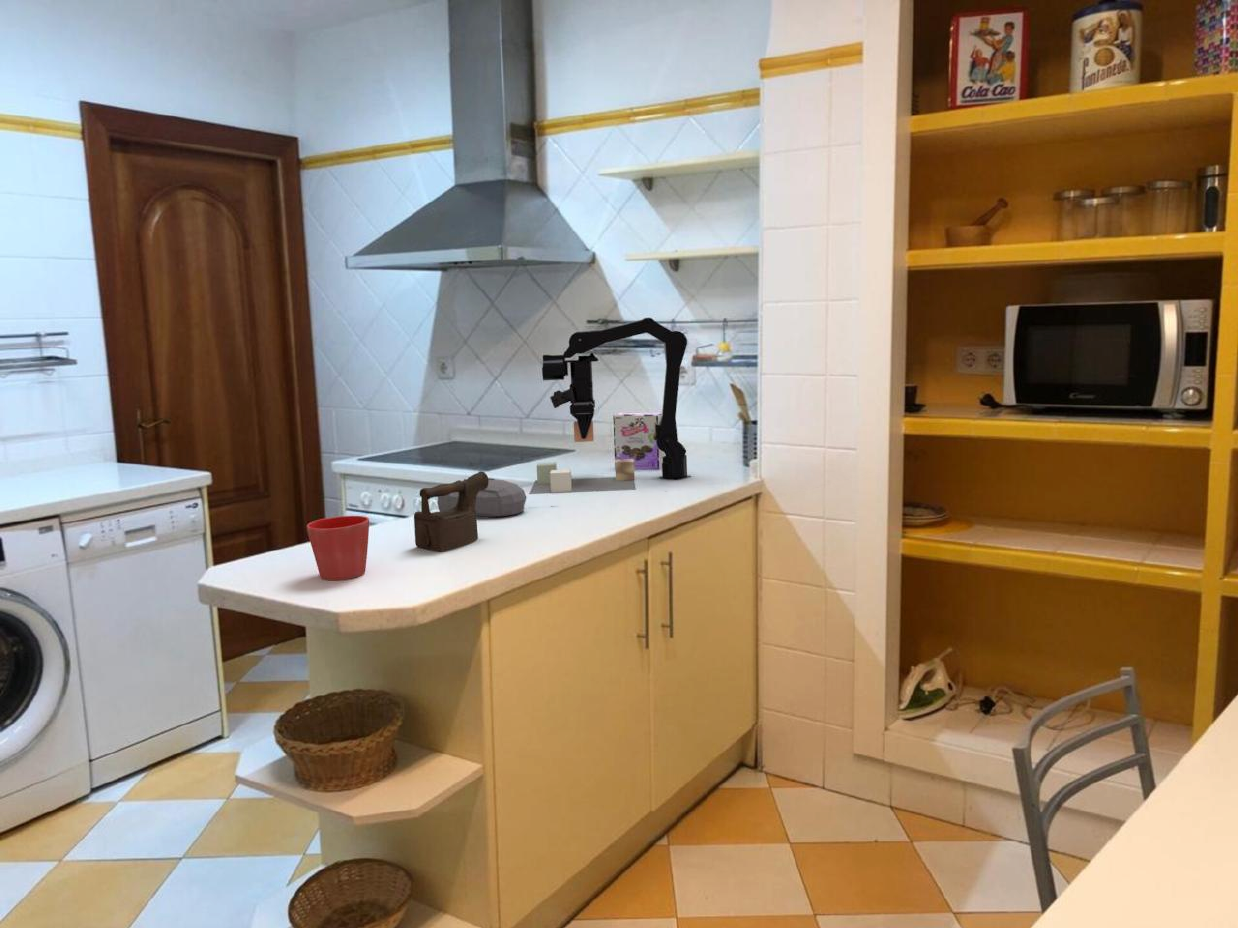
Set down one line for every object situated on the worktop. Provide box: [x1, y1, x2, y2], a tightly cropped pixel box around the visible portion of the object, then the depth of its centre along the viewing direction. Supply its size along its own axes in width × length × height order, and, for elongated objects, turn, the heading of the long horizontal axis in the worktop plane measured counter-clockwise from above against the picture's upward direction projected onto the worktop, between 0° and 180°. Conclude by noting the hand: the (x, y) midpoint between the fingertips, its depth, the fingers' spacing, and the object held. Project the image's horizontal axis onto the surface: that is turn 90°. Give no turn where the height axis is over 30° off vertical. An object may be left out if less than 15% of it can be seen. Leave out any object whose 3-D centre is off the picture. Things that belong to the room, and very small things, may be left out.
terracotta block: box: [573, 420, 595, 443], centre depth 257 cm, size 5×5×5 cm
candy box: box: [613, 412, 666, 471], centre depth 277 cm, size 14×6×16 cm, turn 68°
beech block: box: [614, 459, 636, 481], centre depth 259 cm, size 5×5×5 cm
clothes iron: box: [413, 470, 489, 553], centre depth 191 cm, size 8×16×13 cm, turn 138°
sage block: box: [536, 461, 558, 484], centre depth 258 cm, size 5×5×5 cm
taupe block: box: [550, 468, 572, 494], centre depth 245 cm, size 5×5×5 cm
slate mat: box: [528, 476, 637, 495], centre depth 252 cm, size 27×21×1 cm
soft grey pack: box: [437, 477, 528, 518], centre depth 222 cm, size 15×8×20 cm
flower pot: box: [306, 515, 370, 581], centre depth 170 cm, size 11×11×10 cm
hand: (584, 437), depth 257 cm, fingers closed on terracotta block, 5 cm apart
